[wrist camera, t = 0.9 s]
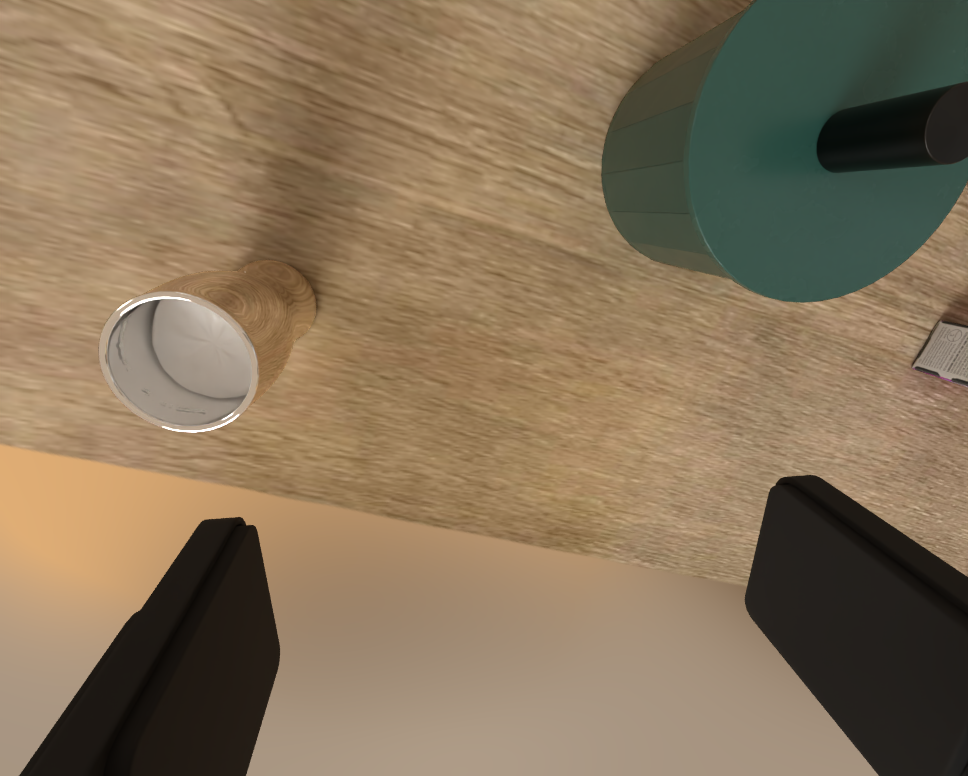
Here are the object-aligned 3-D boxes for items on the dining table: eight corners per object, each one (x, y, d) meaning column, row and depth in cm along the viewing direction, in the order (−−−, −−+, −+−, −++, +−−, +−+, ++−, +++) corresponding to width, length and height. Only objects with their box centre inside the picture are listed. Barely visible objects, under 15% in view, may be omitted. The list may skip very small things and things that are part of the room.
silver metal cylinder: (340, 287, 36) (290, 339, 22) (296, 365, 37) (225, 461, 23) (247, 233, 34) (127, 253, 20) (205, 318, 35) (67, 392, 21)
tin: (597, 56, 33) (697, -28, 21) (804, 36, 34) (1008, -54, 22) (602, 276, 38) (684, 308, 26) (781, 252, 39) (936, 273, 27)
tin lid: (682, -35, 21) (790, -134, 15) (1005, -62, 23) (1229, -163, 16) (672, 316, 27) (748, 349, 21) (931, 279, 28) (1076, 300, 22)
